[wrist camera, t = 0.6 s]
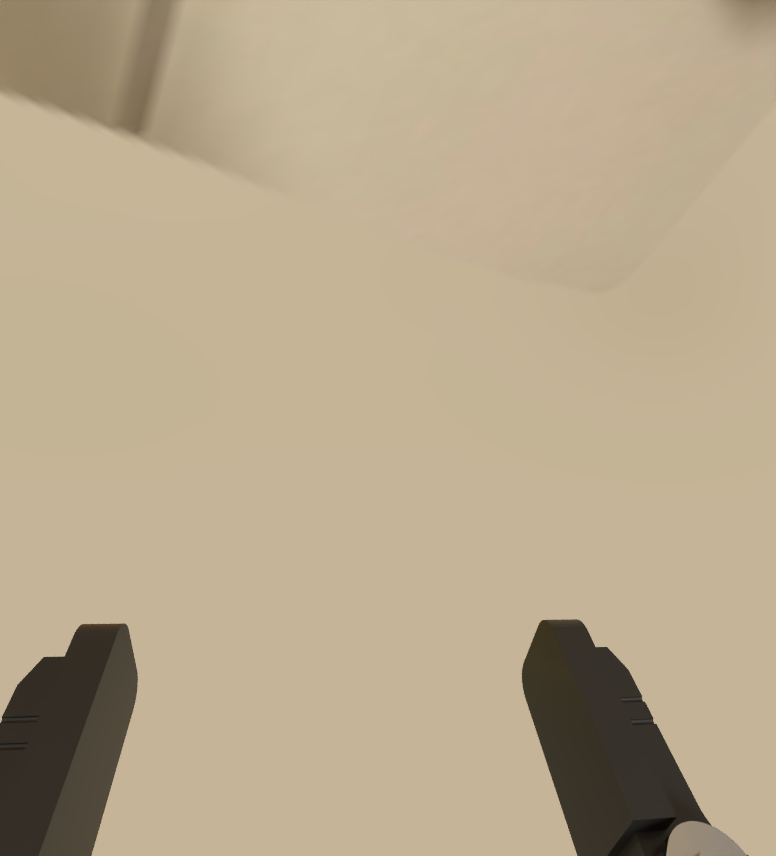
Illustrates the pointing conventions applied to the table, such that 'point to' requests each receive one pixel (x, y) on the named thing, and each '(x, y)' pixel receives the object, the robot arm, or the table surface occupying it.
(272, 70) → the table surface
